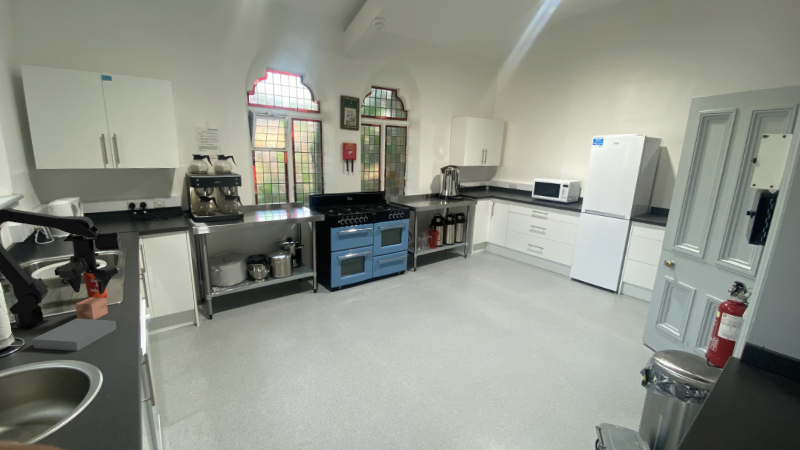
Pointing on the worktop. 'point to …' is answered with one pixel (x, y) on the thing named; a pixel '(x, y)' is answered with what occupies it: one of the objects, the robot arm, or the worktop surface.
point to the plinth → (74, 334)
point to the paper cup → (93, 285)
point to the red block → (91, 308)
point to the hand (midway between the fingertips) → (89, 293)
